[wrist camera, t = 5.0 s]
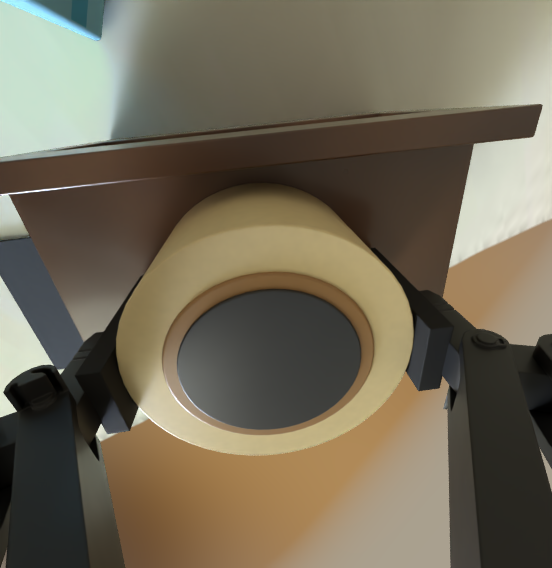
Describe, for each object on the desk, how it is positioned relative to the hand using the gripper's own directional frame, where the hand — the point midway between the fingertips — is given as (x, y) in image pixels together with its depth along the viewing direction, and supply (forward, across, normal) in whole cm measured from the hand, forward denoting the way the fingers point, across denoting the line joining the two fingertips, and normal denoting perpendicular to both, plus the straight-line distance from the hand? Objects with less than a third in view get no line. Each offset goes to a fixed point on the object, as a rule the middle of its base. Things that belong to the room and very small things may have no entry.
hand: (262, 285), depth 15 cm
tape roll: (0, 0, 0) cm, 0 cm away
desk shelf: (+12, 0, 0) cm, 12 cm away
